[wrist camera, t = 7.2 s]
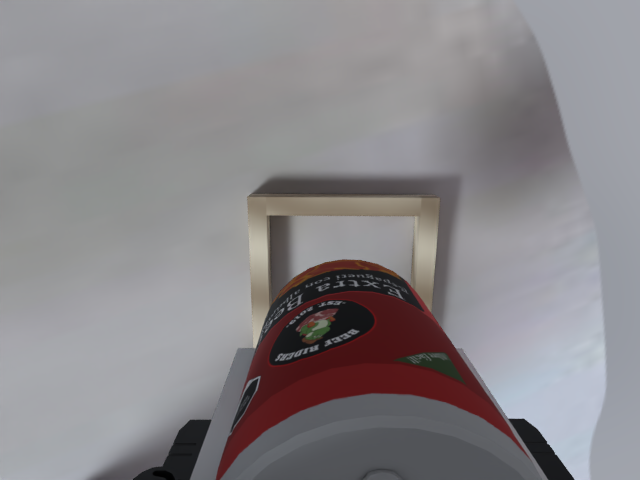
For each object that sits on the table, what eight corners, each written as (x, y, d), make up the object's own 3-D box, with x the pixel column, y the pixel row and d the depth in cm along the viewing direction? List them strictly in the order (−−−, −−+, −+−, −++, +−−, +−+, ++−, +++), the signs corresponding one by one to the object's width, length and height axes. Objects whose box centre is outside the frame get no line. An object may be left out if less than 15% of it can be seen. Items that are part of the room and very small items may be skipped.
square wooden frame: (251, 193, 27) (247, 197, 26) (433, 194, 27) (440, 197, 26) (257, 357, 31) (254, 368, 29) (421, 358, 30) (426, 369, 29)
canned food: (400, 230, 18) (528, 361, 7) (448, 384, 19) (610, 680, 9) (236, 285, 18) (121, 486, 7) (297, 430, 20) (274, 763, 9)
